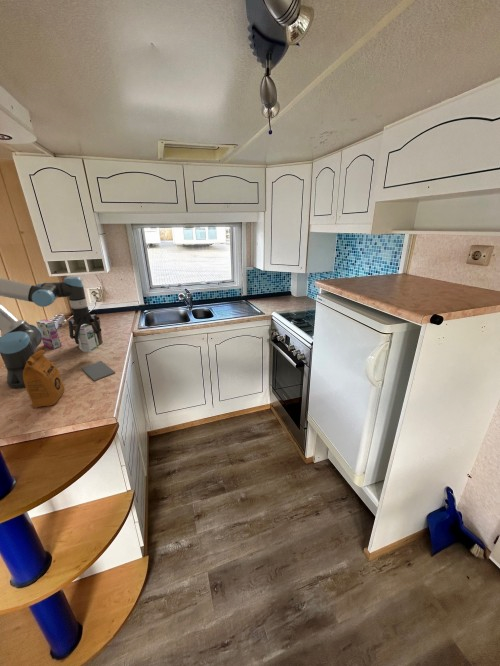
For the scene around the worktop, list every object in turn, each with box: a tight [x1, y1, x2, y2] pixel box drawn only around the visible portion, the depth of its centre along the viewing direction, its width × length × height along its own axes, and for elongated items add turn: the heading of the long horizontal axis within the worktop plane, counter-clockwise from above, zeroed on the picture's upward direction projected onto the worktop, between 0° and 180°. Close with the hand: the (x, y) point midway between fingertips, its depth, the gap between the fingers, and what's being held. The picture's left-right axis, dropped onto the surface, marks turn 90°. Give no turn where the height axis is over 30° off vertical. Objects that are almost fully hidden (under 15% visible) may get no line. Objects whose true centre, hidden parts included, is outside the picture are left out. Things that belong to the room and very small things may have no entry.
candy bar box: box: [35, 319, 62, 350], centre depth 164 cm, size 11×5×16 cm, turn 62°
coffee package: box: [23, 349, 66, 409], centre depth 112 cm, size 10×12×22 cm
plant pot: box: [73, 315, 104, 346], centre depth 165 cm, size 16×16×16 cm
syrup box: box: [78, 324, 99, 353], centre depth 147 cm, size 6×6×14 cm
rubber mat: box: [81, 360, 116, 382], centre depth 138 cm, size 10×18×1 cm, turn 48°
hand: (89, 346), depth 149 cm, fingers closed on syrup box, 8 cm apart
